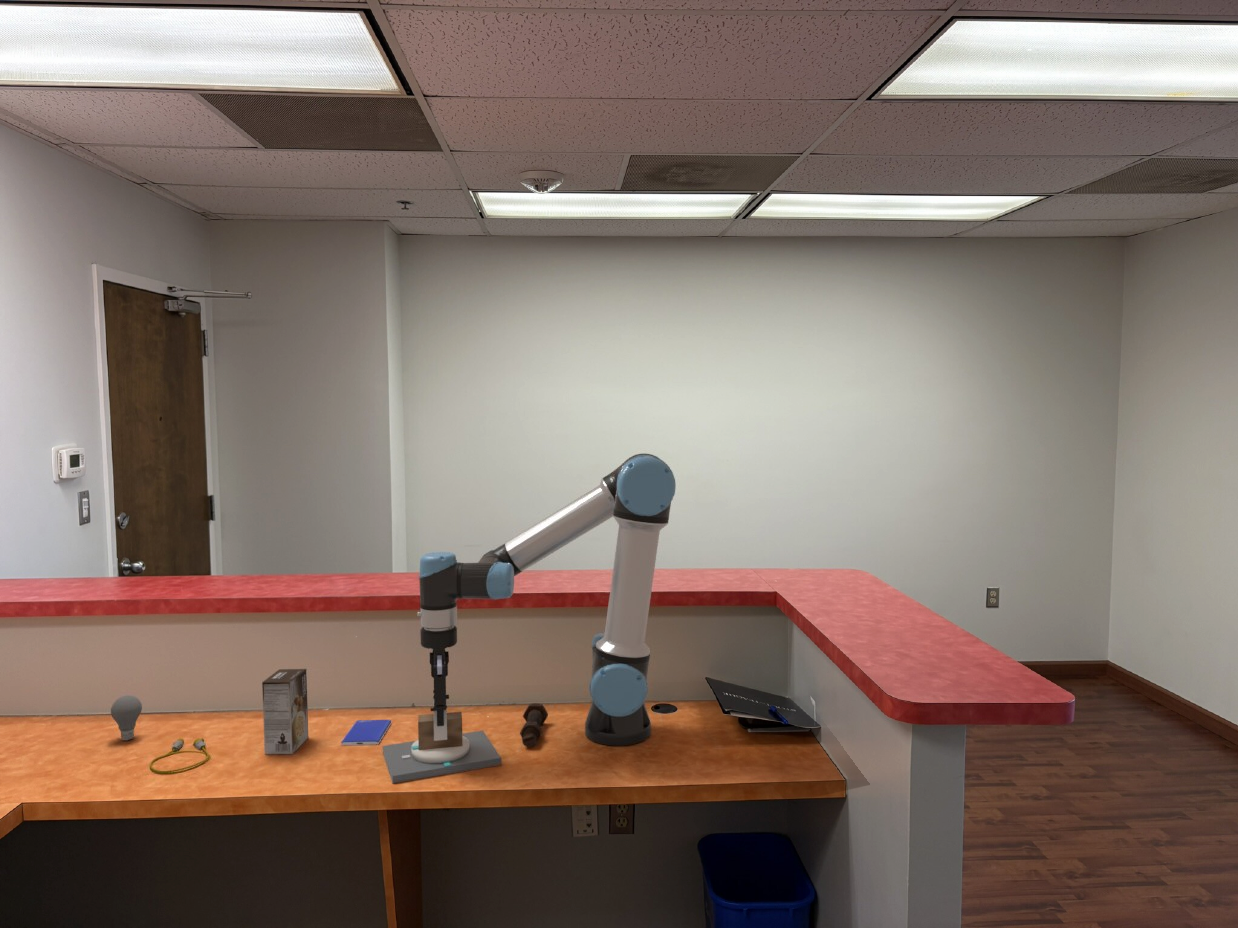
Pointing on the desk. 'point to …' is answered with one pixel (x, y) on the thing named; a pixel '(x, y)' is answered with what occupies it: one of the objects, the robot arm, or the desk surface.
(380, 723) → the hard drive
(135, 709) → the light bulb
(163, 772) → the extension cord
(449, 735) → the dial
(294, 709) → the coffee box
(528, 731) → the bolt
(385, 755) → the dial plate
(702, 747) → the desk surface
